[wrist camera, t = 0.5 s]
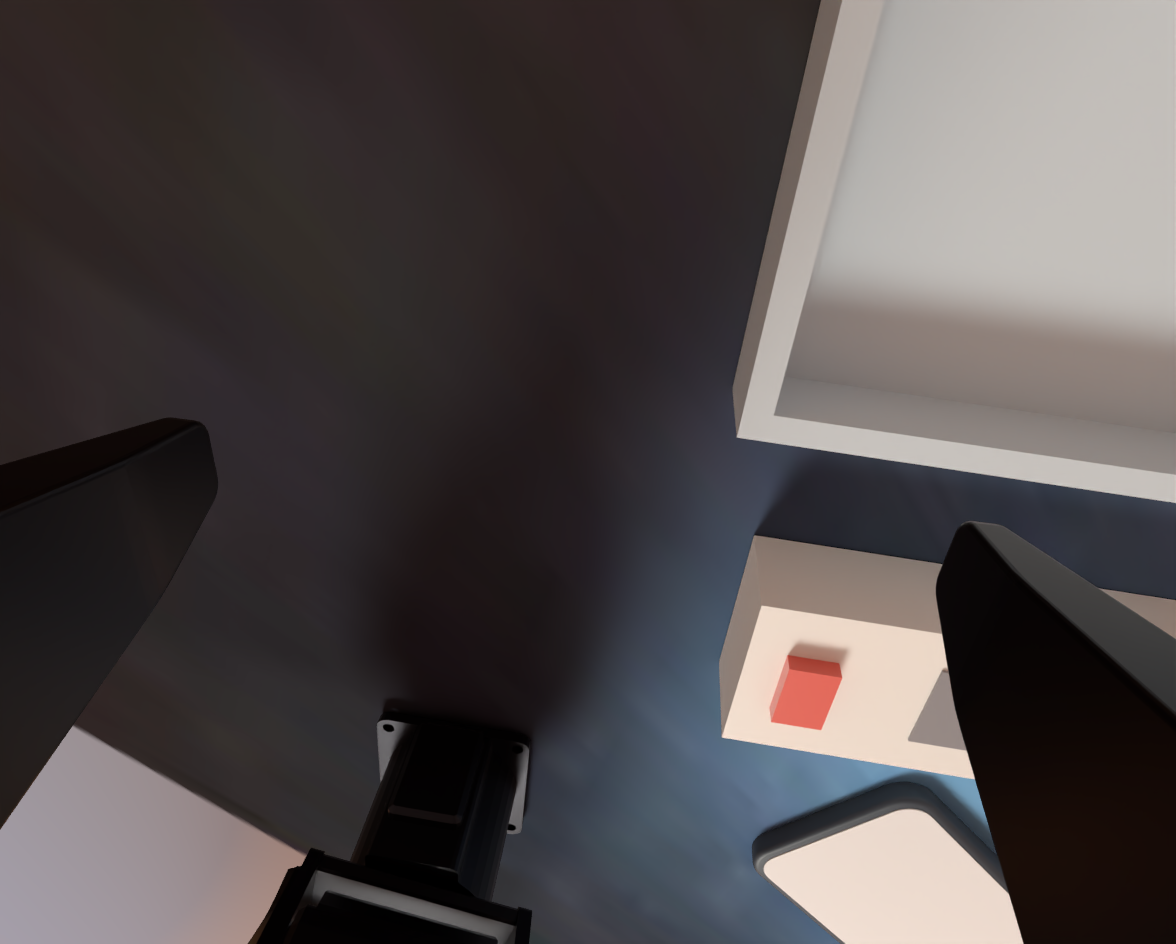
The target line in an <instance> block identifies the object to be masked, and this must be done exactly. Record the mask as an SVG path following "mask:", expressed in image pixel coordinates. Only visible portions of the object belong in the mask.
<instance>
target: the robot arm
mask: <svg viewBox="0 0 1176 944" xmlns="http://www.w3.org/2000/svg"><path fill="white" fill-rule="evenodd" d="M217 489H218V477H217V472H216V467H215V463H214V458H213V453H212V448H211V443H210V438H209V434H208V431H207V429H206V427H205V426H204V425H203V424H202V423H200V422H198V421H194V420H187V419H179V418H163V419H159V420H156V421H153V422H149V423H146V424H142V425H139V426H135V427H132V428H128V429H125V430H121V431H118V432H114V433H111V434H107V435H104V436H100V437H97V438H93V439H90V440H86V441H83V442H79V443H76V444H72V445H69V446H65V447H62V448H58V449H55V450H52V451H48V452H45V453H41V454H38V455H34V456H31V457H27V458H24V459H20V460H17V461H13V462H10V463H6V464H3V465H0V829H1V828H2V826H3V825H4V823H5V822H6V821H7V819H8V817H9V816H10V815H11V813H12V812H13V810H14V809H15V808H16V806H17V805H18V803H19V802H20V800H21V799H22V798H23V796H24V795H25V793H26V792H27V790H28V789H29V788H30V786H31V785H32V783H33V782H34V780H35V779H36V777H37V776H38V774H39V773H40V772H41V770H42V769H43V767H44V766H45V765H46V763H47V762H48V760H49V759H50V757H51V756H52V754H53V753H54V752H55V750H56V749H57V747H58V746H59V744H60V743H61V741H62V740H63V739H64V737H65V736H66V734H67V733H68V731H69V730H70V729H71V727H72V726H73V724H74V723H75V721H76V720H77V718H78V717H79V716H80V714H81V713H82V711H83V710H84V708H85V707H86V706H87V704H88V703H89V701H90V700H91V698H92V697H93V695H94V694H95V693H96V691H97V690H98V688H99V687H100V685H101V684H102V683H103V681H104V680H105V678H106V677H107V675H108V674H109V672H110V671H111V670H112V668H113V667H114V665H115V664H116V662H117V661H118V660H119V658H120V657H121V655H122V654H123V652H124V651H125V649H126V648H127V647H128V645H129V644H130V642H131V641H132V639H133V638H134V637H135V635H136V634H137V632H138V631H139V629H140V628H141V626H142V625H143V624H144V622H145V621H146V619H147V618H148V616H149V615H150V613H151V612H152V610H153V609H154V607H155V606H156V604H157V603H158V601H159V600H160V598H161V597H162V595H163V593H164V591H165V590H166V588H167V586H168V585H169V583H170V581H171V580H172V578H173V576H174V574H175V572H176V570H177V568H178V567H179V565H180V563H181V561H182V559H183V557H184V555H185V554H186V552H187V550H188V548H189V546H190V544H191V542H192V541H193V539H194V537H195V535H196V533H197V531H198V530H199V528H200V526H201V524H202V522H203V520H204V518H205V517H206V515H207V513H208V511H209V509H210V507H211V505H212V504H213V502H214V500H215V497H216V494H217ZM936 601H937V607H938V613H939V619H940V625H941V631H942V637H943V643H944V649H945V656H946V662H947V668H948V674H949V680H950V686H951V692H952V697H953V702H954V707H955V711H956V715H957V719H958V723H959V726H960V730H961V733H962V737H963V740H964V744H965V747H966V750H967V754H968V757H969V761H970V764H971V767H972V771H973V774H974V778H975V781H976V784H977V788H978V791H979V795H980V798H981V801H982V805H983V808H984V812H985V815H986V818H987V822H988V825H989V829H990V832H991V835H992V839H993V842H994V846H995V849H996V852H997V856H998V859H999V863H1000V866H1001V869H1002V873H1003V876H1004V879H1005V883H1006V886H1007V890H1008V893H1009V896H1010V900H1011V903H1012V907H1013V910H1014V913H1015V917H1016V920H1017V924H1018V927H1019V930H1020V934H1021V937H1022V941H1023V944H1176V639H1175V638H1174V637H1172V636H1171V635H1169V634H1168V633H1166V632H1165V631H1163V630H1162V629H1160V628H1159V627H1157V626H1155V625H1154V624H1152V623H1151V622H1149V621H1148V620H1146V619H1145V618H1143V617H1142V616H1140V615H1139V614H1137V613H1136V612H1134V611H1133V610H1131V609H1129V608H1128V607H1126V606H1125V605H1123V604H1122V603H1120V602H1119V601H1117V600H1116V599H1114V598H1113V597H1111V596H1110V595H1108V594H1107V593H1105V592H1103V591H1102V590H1100V589H1099V588H1097V587H1096V586H1094V585H1093V584H1091V583H1090V582H1088V581H1087V580H1085V579H1084V578H1082V577H1081V576H1079V575H1078V574H1076V573H1074V572H1073V571H1071V570H1070V569H1068V568H1067V567H1065V566H1064V565H1062V564H1061V563H1059V562H1058V561H1056V560H1055V559H1053V558H1052V557H1050V556H1048V555H1047V554H1045V553H1044V552H1042V551H1041V550H1039V549H1038V548H1036V547H1035V546H1033V545H1032V544H1030V543H1029V542H1027V541H1026V540H1024V539H1022V538H1021V537H1019V536H1018V535H1016V534H1015V533H1013V532H1012V531H1010V530H1009V529H1007V528H1006V527H1004V526H1002V525H998V524H992V523H984V522H976V521H966V522H964V523H963V524H961V525H960V527H959V528H958V529H957V531H956V533H955V535H954V538H953V540H952V543H951V545H950V547H949V550H948V552H947V555H946V557H945V560H944V562H943V564H942V567H941V569H940V572H939V574H938V577H937V582H936ZM377 736H378V751H379V767H380V782H381V783H380V786H379V788H378V791H377V794H376V796H375V799H374V801H373V804H372V806H371V809H370V811H369V814H368V816H367V819H366V821H365V824H364V826H363V829H362V832H361V834H360V837H359V839H358V842H357V844H356V847H355V849H354V852H353V854H352V857H351V859H350V861H347V860H343V859H339V858H336V857H332V856H329V855H325V851H321V850H318V849H314V848H311V849H310V850H309V852H308V854H307V856H306V858H305V860H304V862H303V864H302V866H297V867H295V868H290V869H288V871H287V873H286V875H285V877H284V880H283V882H282V884H281V886H280V889H279V891H278V893H277V895H276V897H275V899H274V901H273V903H272V905H271V907H270V909H269V911H268V913H267V915H266V916H265V918H264V920H263V921H262V923H261V924H260V926H259V928H258V929H257V930H256V932H255V934H254V935H253V937H252V938H251V940H250V941H249V943H248V944H529V937H530V927H531V917H532V910H529V909H525V908H522V907H518V909H516V908H512V907H509V906H505V905H501V904H498V903H494V902H491V901H492V897H493V892H494V888H495V883H496V879H497V874H498V870H499V865H500V861H501V856H502V852H503V847H504V843H505V838H506V834H507V833H508V834H517V833H519V832H520V831H521V829H522V824H523V818H524V807H525V797H526V787H527V777H528V767H529V757H530V747H531V742H530V740H529V738H528V737H526V736H524V735H521V734H516V733H511V732H505V731H499V730H493V729H487V728H481V727H475V726H469V725H463V724H457V723H451V722H445V721H439V720H433V719H427V718H421V717H415V716H409V715H403V714H397V713H390V712H387V713H383V714H382V715H381V716H380V719H379V721H378V724H377Z"/></svg>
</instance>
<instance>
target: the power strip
mask: <svg viewBox="0 0 1176 944" xmlns="http://www.w3.org/2000/svg"><path fill="white" fill-rule="evenodd" d="M941 567H942V564H938V563H931V562H925V561H918V560H912V559H905V558H899V557H893V556H886V555H880V554H873V553H867V552H860V551H854V550H847V549H841V548H834V547H828V546H821V545H815V544H808V543H802V542H795V541H789V540H782V539H776V538H769V537H763V536H756V535H754V537H753V541H752V545H751V548H750V552H749V556H748V559H747V563H746V566H745V570H744V574H743V577H742V581H741V584H740V588H739V592H738V595H737V599H736V602H735V606H734V610H733V613H732V617H731V621H730V624H729V628H728V631H727V635H726V639H725V642H724V646H723V649H722V653H721V657H720V660H719V672H720V700H721V728H722V737H723V738H729V739H735V740H741V741H747V742H753V743H759V744H765V745H771V746H777V747H783V748H789V749H795V750H801V751H807V752H813V753H819V754H825V755H831V756H837V757H843V758H849V759H855V760H862V761H868V762H874V763H880V764H886V765H892V766H898V767H904V768H910V769H916V770H922V771H928V772H934V773H940V774H946V775H952V776H958V777H964V778H970V779H975V778H974V774H973V771H972V767H971V764H970V761H969V757H968V754H967V750H966V747H965V744H964V740H963V737H962V733H961V730H960V726H959V723H958V719H957V715H956V711H955V707H954V702H953V697H952V692H951V686H950V680H949V674H948V668H947V662H946V656H945V649H944V643H943V637H942V631H941V625H940V619H939V613H938V607H937V601H936V582H937V577H938V574H939V572H940V569H941ZM1099 589H1100V588H1099ZM1100 590H1102V591H1103V592H1105V593H1107V594H1108V595H1110V596H1111V597H1113V598H1114V599H1116V600H1117V601H1119V602H1120V603H1122V604H1123V605H1125V606H1126V607H1128V608H1129V609H1131V610H1133V611H1134V612H1136V613H1137V614H1139V615H1140V616H1142V617H1143V618H1145V619H1146V620H1148V621H1149V622H1151V623H1152V624H1154V625H1155V626H1157V627H1159V628H1160V629H1162V630H1163V631H1165V632H1166V633H1168V634H1169V635H1171V636H1172V637H1174V638H1175V639H1176V600H1171V599H1165V598H1158V597H1152V596H1145V595H1139V594H1132V593H1126V592H1119V591H1113V590H1106V589H1100Z"/></svg>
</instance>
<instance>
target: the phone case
mask: <svg viewBox="0 0 1176 944" xmlns="http://www.w3.org/2000/svg"><path fill="white" fill-rule="evenodd" d="M752 858H753V865H754V868H755V870H756V871H757V872H758V874H759V875H760V876H762V877H763V878H764V879H765V880H766V881H767V882H769V883H770V884H771V885H772V886H773V887H775V888H776V889H777V890H778V891H779V892H780V893H782V894H783V895H784V896H785V897H786V898H787V899H789V900H790V901H791V902H792V903H793V904H795V905H796V906H797V907H798V908H799V909H800V910H802V911H803V912H804V913H805V914H806V915H807V916H809V917H810V918H811V919H812V920H813V921H815V922H816V923H817V924H818V925H819V926H820V927H822V928H823V929H824V930H825V931H826V932H827V933H829V934H830V935H831V936H832V937H833V938H835V939H836V940H837V941H838V942H839V943H840V944H1023V941H1022V937H1021V934H1020V930H1019V927H1018V924H1017V920H1016V917H1015V913H1014V910H1013V907H1012V903H1011V900H1010V896H1009V893H1008V890H1007V886H1006V883H1005V879H1004V876H1003V873H1002V869H1001V866H1000V863H999V859H998V857H997V856H996V855H995V854H994V853H993V852H992V851H991V850H990V849H989V848H988V847H987V846H986V845H985V844H984V843H983V842H982V841H981V840H980V839H979V838H978V837H977V836H976V835H975V834H974V833H973V832H972V831H971V830H970V829H969V828H968V827H967V826H966V825H965V824H964V823H963V822H962V821H961V820H960V819H959V818H958V817H957V816H956V815H955V814H954V813H953V812H952V811H951V810H950V809H949V808H948V807H947V806H946V805H945V804H944V803H943V802H942V801H941V800H940V799H939V798H938V797H937V796H936V795H935V794H934V793H933V792H932V791H930V790H929V789H928V788H926V787H924V786H922V785H919V784H916V783H911V782H897V783H892V784H888V785H885V786H882V787H880V788H877V789H875V790H872V791H870V792H867V793H865V794H862V795H860V796H857V797H855V798H852V799H850V800H847V801H845V802H842V803H840V804H837V805H835V806H832V807H830V808H827V809H825V810H822V811H820V812H817V813H815V814H812V815H810V816H807V817H805V818H802V819H800V820H797V821H795V822H792V823H790V824H787V825H785V826H782V827H780V828H777V829H775V830H772V831H769V832H767V833H764V834H762V835H760V836H759V837H758V838H756V839H755V841H754V842H753V844H752Z"/></svg>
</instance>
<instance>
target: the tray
mask: <svg viewBox="0 0 1176 944" xmlns="http://www.w3.org/2000/svg"><path fill="white" fill-rule="evenodd" d="M732 390H733V401H734V412H735V423H736V434H737V438H744V439H751V440H757V441H764V442H771V443H777V444H784V445H791V446H798V447H804V448H811V449H818V450H824V451H831V452H838V453H845V454H851V455H858V456H865V457H871V458H878V459H885V460H892V461H898V462H905V463H912V464H918V465H925V466H932V467H938V468H945V469H952V470H959V471H965V472H972V473H979V474H985V475H992V476H999V477H1006V478H1012V479H1019V480H1026V481H1032V482H1039V483H1046V484H1053V485H1059V486H1066V487H1073V488H1079V489H1086V490H1093V491H1099V492H1106V493H1113V494H1120V495H1126V496H1133V497H1140V498H1146V499H1153V500H1160V501H1167V502H1173V503H1176V0H821V3H820V7H819V11H818V16H817V20H816V24H815V29H814V33H813V38H812V42H811V46H810V51H809V55H808V59H807V64H806V68H805V73H804V77H803V81H802V86H801V90H800V94H799V99H798V103H797V108H796V112H795V116H794V121H793V125H792V129H791V134H790V138H789V143H788V147H787V151H786V156H785V160H784V164H783V169H782V173H781V178H780V182H779V186H778V191H777V195H776V199H775V204H774V208H773V213H772V217H771V221H770V226H769V230H768V234H767V239H766V243H765V248H764V252H763V256H762V261H761V265H760V269H759V274H758V278H757V283H756V287H755V291H754V296H753V300H752V304H751V309H750V313H749V318H748V322H747V326H746V331H745V335H744V340H743V344H742V348H741V353H740V357H739V361H738V366H737V370H736V375H735V379H734V383H733V388H732Z"/></svg>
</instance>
